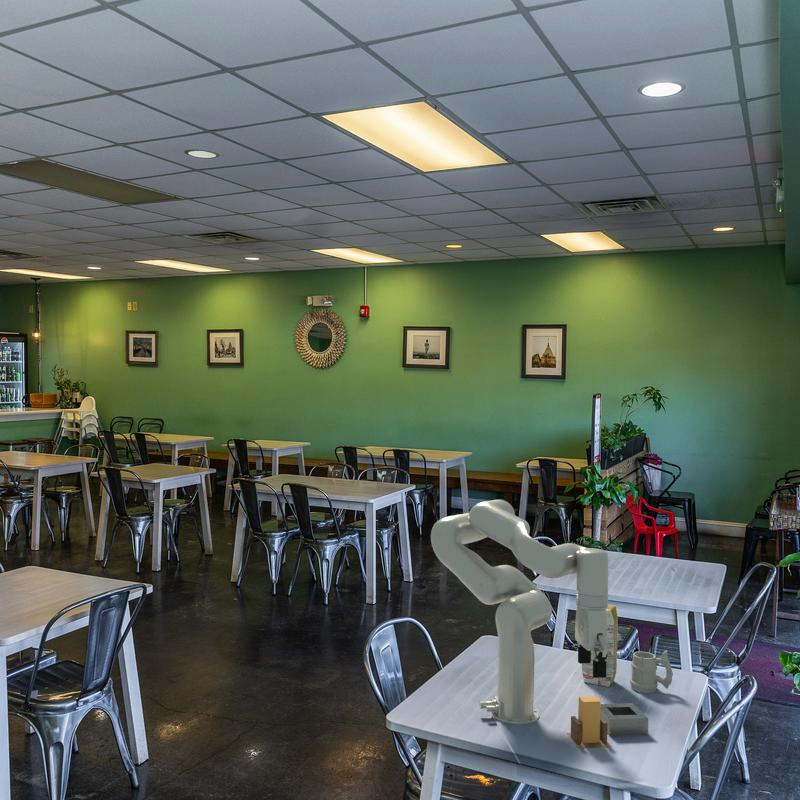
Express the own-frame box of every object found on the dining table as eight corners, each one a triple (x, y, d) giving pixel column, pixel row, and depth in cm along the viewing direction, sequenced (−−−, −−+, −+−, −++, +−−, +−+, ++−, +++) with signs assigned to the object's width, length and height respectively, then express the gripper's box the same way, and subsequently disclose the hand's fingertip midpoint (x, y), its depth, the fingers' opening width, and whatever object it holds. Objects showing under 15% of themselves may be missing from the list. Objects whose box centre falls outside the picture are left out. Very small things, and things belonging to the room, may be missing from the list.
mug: (631, 681, 222) (631, 641, 222) (673, 688, 218) (673, 647, 218) (628, 691, 215) (629, 649, 215) (671, 698, 211) (672, 656, 211)
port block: (609, 739, 184) (610, 719, 184) (595, 723, 193) (596, 704, 193) (647, 737, 185) (648, 718, 185) (632, 722, 194) (632, 703, 194)
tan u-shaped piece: (578, 751, 177) (578, 727, 177) (566, 736, 185) (567, 713, 185) (611, 750, 178) (612, 726, 178) (598, 735, 186) (599, 712, 186)
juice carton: (618, 680, 223) (619, 601, 223) (611, 689, 216) (612, 607, 216) (587, 674, 228) (589, 596, 227) (579, 682, 221) (581, 602, 221)
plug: (582, 743, 180) (583, 702, 180) (577, 737, 183) (578, 697, 183) (599, 742, 181) (600, 701, 181) (594, 736, 184) (595, 696, 184)
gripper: (565, 591, 190) (564, 658, 190) (590, 610, 173) (590, 683, 172) (593, 590, 191) (593, 657, 191) (621, 609, 173) (621, 682, 173)
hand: (591, 669), depth 181 cm, fingers open, 9 cm apart
